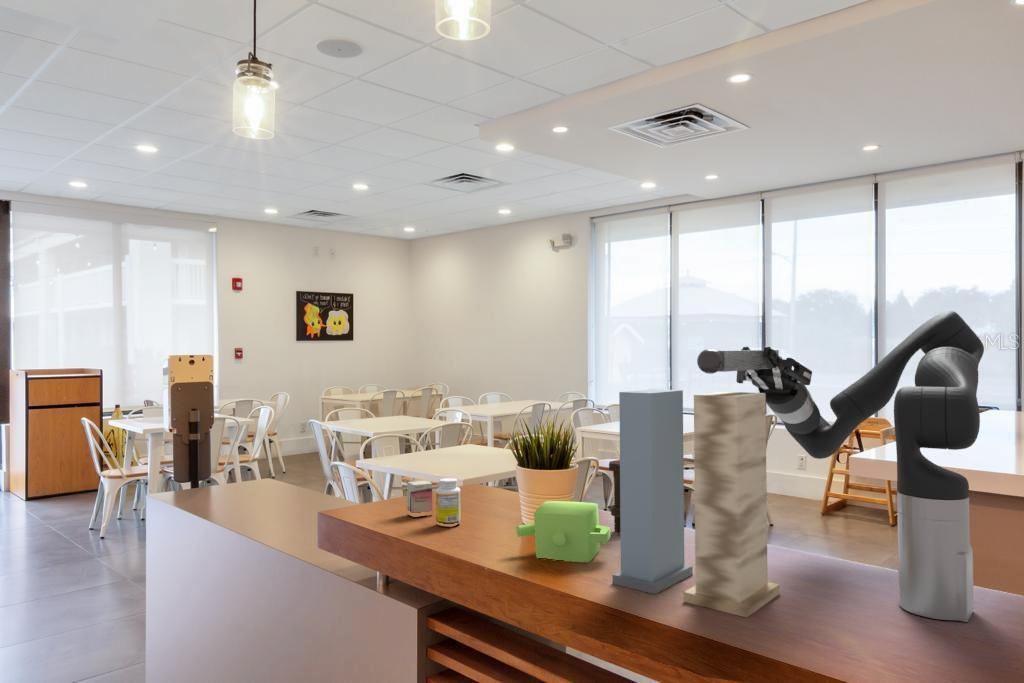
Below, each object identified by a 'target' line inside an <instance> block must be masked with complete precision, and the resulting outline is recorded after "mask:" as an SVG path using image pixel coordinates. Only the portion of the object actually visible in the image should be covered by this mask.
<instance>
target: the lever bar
mask: <svg viewBox="0 0 1024 683" xmlns="http://www.w3.org/2000/svg"><path fill="white" fill-rule="evenodd" d="M774 350H775V352H776V353H777V355H778V356H780V355H779V349H774ZM763 353H764V349H763V350H762V349H760V350H759V349H755V350H752V349H750V350H716V349H714V348H707V349H704V350H702V351H701V352H700V353H699V354H698V355H697V359H696V364H697V366H698V368H699V370H700V371H701V372H703V373H705V374H708V375H709V374H711V375H712V374H713V375H714V374H715V373H716V374H717V373H718V372H720V373H722V372H723V373H724V372H737V371H743V370H759V369H772V367H770V366H769V365H768V363H767V362H766V360H765V359H764V357H763Z"/></svg>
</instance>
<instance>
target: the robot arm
mask: <svg viewBox="0 0 1024 683" xmlns="http://www.w3.org/2000/svg"><path fill="white" fill-rule="evenodd" d="M741 350H751V349H750V346H743V347H742V349H741ZM763 350H764V353H763V357H764V359H765V360H766V362H767V363H768V365H769V366H770V367H772V369H759V370H743V371H736V383H738V384H744V382H751V384H752V385H753V386H755V387H756V388H758V391H759V392H758V393H765V396H766V406H768V407H769V409H770V410H771V411H772V413H773V414H774V415H775V416H777V417H778V418H779V420H780V421H781V422H782V423H783V425H784V427H785V429H786V431H787V432H788V434H790V436H791V437H792V438H793V439H794V440H795V441H796V442H797V443H798V445H800V447H801V448H802V449H804V450H805V452H807V453H808V455H809V456H811V457H812V458H813V459H816V460H817V459H818V460H820V459H822V460H823V459H826V458H827V459H828V458H829V457H831V456H833V455H834V454H835V453H837V451H838V450H839V449H840V448H841V446H842V445H843V444H844V443H845V441H846V440H847V439H848V437H849V436H850V435H851V434H852V433H853V432H854V431H855V430H856V428H858V426H860V425H861V424H862V423H863V422H865V421H866V420H868V419H869V418H870V417H872V416H874V415H875V414H876V413H877V412H879V411H881V409H883V408H884V407H885V406H886V405H887V404H888V403H889V402H890V401H891V399H892V397H893V395H894V394H895V391H896V389H897V387H898V384H899V382H900V380H901V377H902V374H903V372H904V370H905V367H907V364H908V363H909V361H910V360H911V359H912V357H914V355H915V354H916V353H917V352H918V351H919V350H921V352H922V353H924V355H923V356H922V357H921V358H920V360H919V361H918V364H917V367H916V371H915V375H914V385H915V386H912V385H910V386H909V385H908V386H902V387H900V388H899V389H898V390H897V391H896V394H895V395H894V401H893V421H894V422H893V423H894V434H895V444H896V445H895V446H896V490H897V491H896V492H897V493H896V494H897V495H896V496H897V498H896V499H897V500H896V502H897V504H896V505H897V569H898V570H897V572H898V573H897V575H898V577H897V578H898V579H897V580H898V588H897V589H898V590H897V593H898V605H899V606H900V608H902V609H903V610H905V611H906V612H909V613H912V614H915V615H918V616H920V617H921V616H922V617H925V618H930V619H935V620H944V621H960V622H965V623H968V622H969V620H970V618H971V616H972V615H973V612H974V611H975V610H974V609H975V608H974V604H975V603H974V601H975V600H974V556H973V555H974V554H973V552H974V551H973V546H971V544H970V543H971V540H970V538H971V537H970V536H971V535H970V534H971V533H970V485H969V480H968V479H967V477H965V476H964V475H962V474H960V473H958V472H955V471H953V470H949V469H947V468H945V467H942V466H940V465H938V464H935V463H934V462H932V461H931V460H929V459H928V458H927V457H926V456H925V455H924V454H922V452H921V449H922V448H923V449H937V450H939V449H940V450H953V451H954V450H964V449H968V448H970V447H971V446H973V444H974V443H975V442H976V440H977V439H978V436H979V432H980V426H981V416H980V415H981V414H980V407H979V403H978V402H979V401H978V397H977V393H978V392H977V391H978V385H979V364H980V362H981V360H982V358H983V355H984V352H985V345H984V344H983V341H982V340H981V339H980V337H979V336H978V335H977V334H976V333H975V331H973V329H972V328H971V326H969V325H968V323H966V321H965V320H964V319H963V318H962V316H960V314H958V312H956V311H953V310H947V311H945V312H941V313H939V314H937V315H935V316H933V317H932V318H930V319H928V320H926V321H925V322H924V323H922V324H921V325H920V326H918V327H917V328H916V329H915V330H914V331H912V332H911V333H910V334H909V335H908V336H907V337H906V338H904V340H902V341H901V342H900V343H899V344H898V345H896V346H895V347H894V348H893V349H892V350H891V351H889V353H888V354H886V355H885V356H884V357H883V358H882V359H881V360H880V361H879V362H878V363H877V364H876V365H874V367H872V369H870V370H869V371H868V372H867V373H865V374H864V375H863V376H862V377H860V378H859V379H858V380H856V381H855V382H853V383H851V384H850V385H849V386H847V387H846V388H844V389H843V390H841V392H839V393H837V394H836V395H835V396H833V397H832V398H831V399H830V401H829V407H830V409H831V411H832V412H833V414H834V415H835V417H836V420H835V421H834V422H833V423H832V424H830V423H829V422H828V421H827V420H826V419H825V418H824V417H823V416H822V415H821V413H820V412H821V411H820V409H819V407H818V405H817V404H816V402H815V400H814V399H813V397H812V394H811V393H810V391H809V389H808V387H807V386H810V385H811V381H812V376H813V371H812V370H811V369H809V368H807V367H806V366H805V365H803V364H801V363H800V362H798V360H795V359H794V358H792V357H785V358H783V357H782V356H780V355H779V356H778V355H777V353H776V352H775V350H776V349H773V348H771V346H769V345H768V346H767V345H765V346H764V349H763Z"/></svg>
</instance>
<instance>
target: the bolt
mask: <svg viewBox="0 0 1024 683" xmlns="http://www.w3.org/2000/svg"><path fill="white" fill-rule="evenodd" d="M608 470H609V471H612V472H613V475H612V476H613V487H614V488H613V496H614V497H613V505H611V506H610V515H611V516H612V517H613V521H614V522H613V523H614V524H613V526H614V527H613V531H614V532H616V533H620V459H618V460H617V459H615V460H610V461H609V462H608Z"/></svg>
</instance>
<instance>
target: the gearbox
mask: <svg viewBox="0 0 1024 683" xmlns="http://www.w3.org/2000/svg"><path fill="white" fill-rule="evenodd" d="M533 513H534V514H533V516H534V522H532V523H527V524H526V523H525V524H521V525H517V526H516V527H515V530H516V536H517V537H518V538H519V537H528V536H534V542H535V558H536V557H537V558H536V559H538V558H548V559H556V560H564V561H563V562H570V561H571V562H570V563H572V562H573V563H574V562H575V563H590V562H591V561H592V560H593V559H594V558H595V557H596V555H597V554H598V553H599V552H600V544H601V545H602V544H607V543H608V541H609V540H610V538H611V527H609V526H605V525H600V522H599V521H600V520H599V504H598V503H595V502H585V501H584V502H583V501H570V500H569V501H565V500H563V501H562V500H561V501H559V500H547V501H546V500H545V501H544V502H543V503H541V505H539V506H538V508H536V510H535V511H534V512H533ZM556 560H555V561H556Z"/></svg>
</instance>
